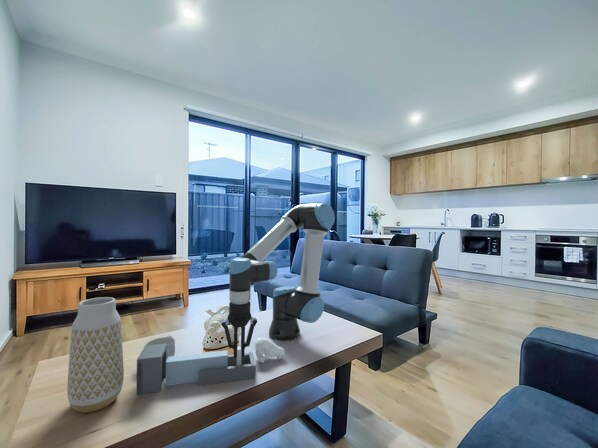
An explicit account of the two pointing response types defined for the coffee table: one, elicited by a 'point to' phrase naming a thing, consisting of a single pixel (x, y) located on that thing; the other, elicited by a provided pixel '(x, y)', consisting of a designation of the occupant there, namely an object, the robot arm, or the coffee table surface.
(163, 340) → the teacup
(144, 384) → the endcap
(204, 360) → the blue-grey rectangular block
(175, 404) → the coffee table surface
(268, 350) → the white irregular piece
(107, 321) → the vase
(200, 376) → the endcap
